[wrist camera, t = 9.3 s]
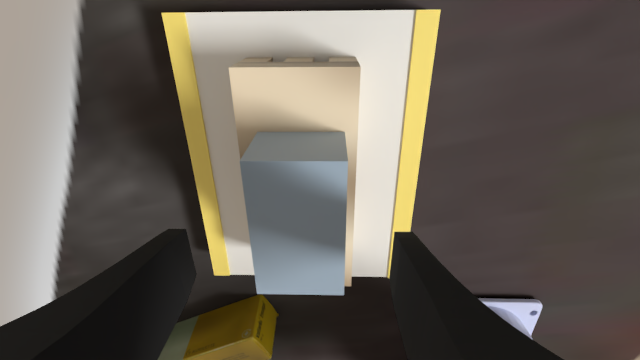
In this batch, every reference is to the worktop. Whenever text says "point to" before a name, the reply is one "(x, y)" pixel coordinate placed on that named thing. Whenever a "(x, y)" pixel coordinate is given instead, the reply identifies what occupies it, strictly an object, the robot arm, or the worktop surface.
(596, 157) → the worktop surface
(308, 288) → the block
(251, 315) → the medication box
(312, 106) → the pallet
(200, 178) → the dock
